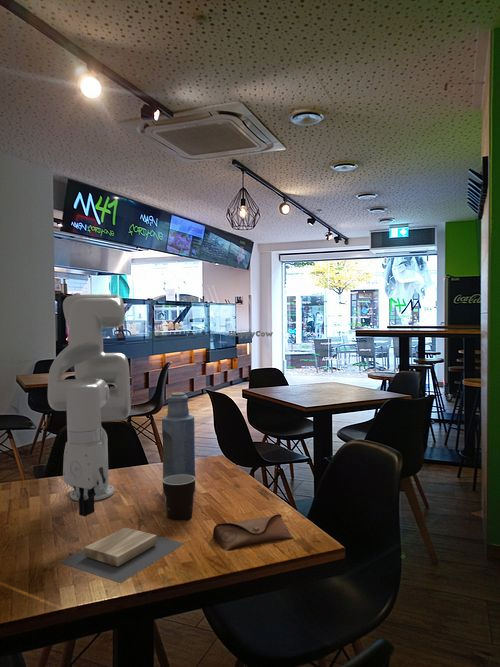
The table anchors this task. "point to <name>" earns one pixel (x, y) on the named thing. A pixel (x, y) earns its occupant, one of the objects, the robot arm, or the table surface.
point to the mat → (126, 568)
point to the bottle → (178, 437)
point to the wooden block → (120, 546)
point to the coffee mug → (179, 496)
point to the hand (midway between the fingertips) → (86, 513)
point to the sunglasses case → (251, 532)
